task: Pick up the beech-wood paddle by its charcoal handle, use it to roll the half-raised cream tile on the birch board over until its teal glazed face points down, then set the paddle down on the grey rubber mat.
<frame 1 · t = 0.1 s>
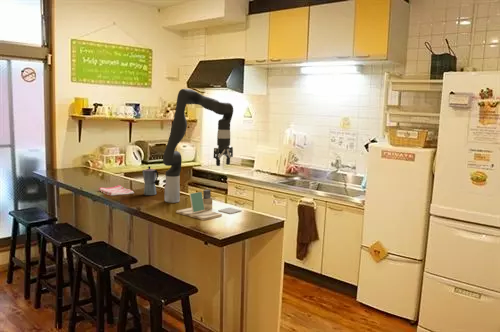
hand: (223, 165, 245), 29 cm above the countertop, tool pointing down, fingers open, 8 cm apart
dish towel: (116, 193, 301), on the countertop
tile: (197, 201, 246), point 7 cm above the countertop, hinge at 75.0°
moka pot: (150, 194, 296), on the countertop
board: (198, 214, 246), on the countertop
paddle: (206, 209, 258), on the countertop
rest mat: (229, 211, 256), on the countertop
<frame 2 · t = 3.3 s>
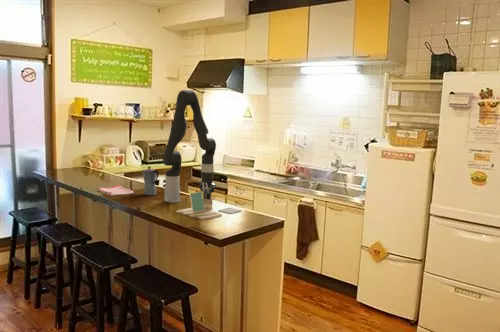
hand: (206, 198, 258), 7 cm above the countertop, tool pointing down, fingers closed on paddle, 2 cm apart
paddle: (206, 209, 258), on the countertop, touching gripper
everything else where it was.
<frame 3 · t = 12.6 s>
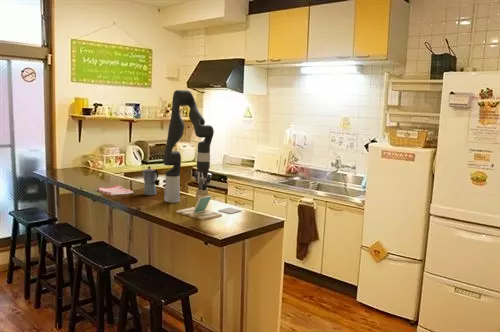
hand: (202, 189, 242), 15 cm above the countertop, tool pointing down, fingers closed on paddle, 2 cm apart
tile: (202, 204, 243), point 7 cm above the countertop, hinge at 120.3°, touching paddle
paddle: (201, 200, 243), point 8 cm above the countertop, touching gripper, tile
everything else where it was.
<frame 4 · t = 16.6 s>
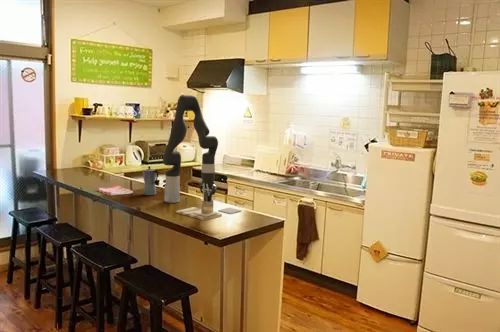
hand: (207, 201, 240), 9 cm above the countertop, tool pointing down, fingers closed on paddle, 2 cm apart
tile: (205, 213, 242), point 2 cm above the countertop, hinge at 178.0°
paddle: (207, 212, 241), point 2 cm above the countertop, touching gripper
everything else where it was.
when the fingers open (9 cm above the countertop, at t = 22.3 s): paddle drops 1 cm, resting on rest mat.
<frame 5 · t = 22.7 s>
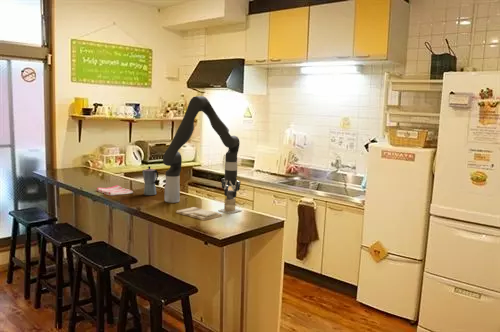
hand: (230, 196, 254), 9 cm above the countertop, tool pointing down, fingers open, 6 cm apart
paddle: (229, 210, 256), point 1 cm above the countertop, touching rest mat
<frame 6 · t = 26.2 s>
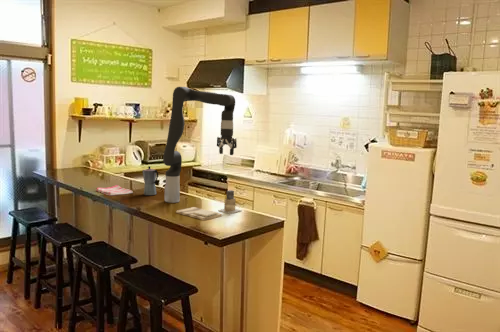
hand: (226, 154, 256), 34 cm above the countertop, tool pointing down, fingers open, 8 cm apart
at the end: tile at +178° (first picture: +75°); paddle inside the target area (0.1 cm from its centre), point 0.6 cm above the countertop; the gripper is holding nothing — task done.
